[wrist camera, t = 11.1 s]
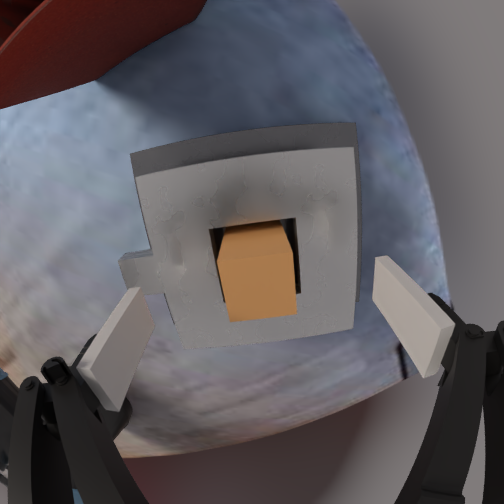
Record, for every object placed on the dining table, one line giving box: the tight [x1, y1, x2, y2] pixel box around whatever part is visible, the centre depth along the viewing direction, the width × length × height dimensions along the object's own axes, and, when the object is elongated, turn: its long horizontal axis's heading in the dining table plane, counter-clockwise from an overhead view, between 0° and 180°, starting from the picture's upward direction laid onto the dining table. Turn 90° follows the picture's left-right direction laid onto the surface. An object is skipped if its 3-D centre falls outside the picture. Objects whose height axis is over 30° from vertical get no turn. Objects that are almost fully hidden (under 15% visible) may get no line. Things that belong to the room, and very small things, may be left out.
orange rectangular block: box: [217, 219, 297, 322], centre depth 20 cm, size 4×4×10 cm
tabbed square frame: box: [118, 123, 362, 349], centre depth 22 cm, size 18×20×8 cm
